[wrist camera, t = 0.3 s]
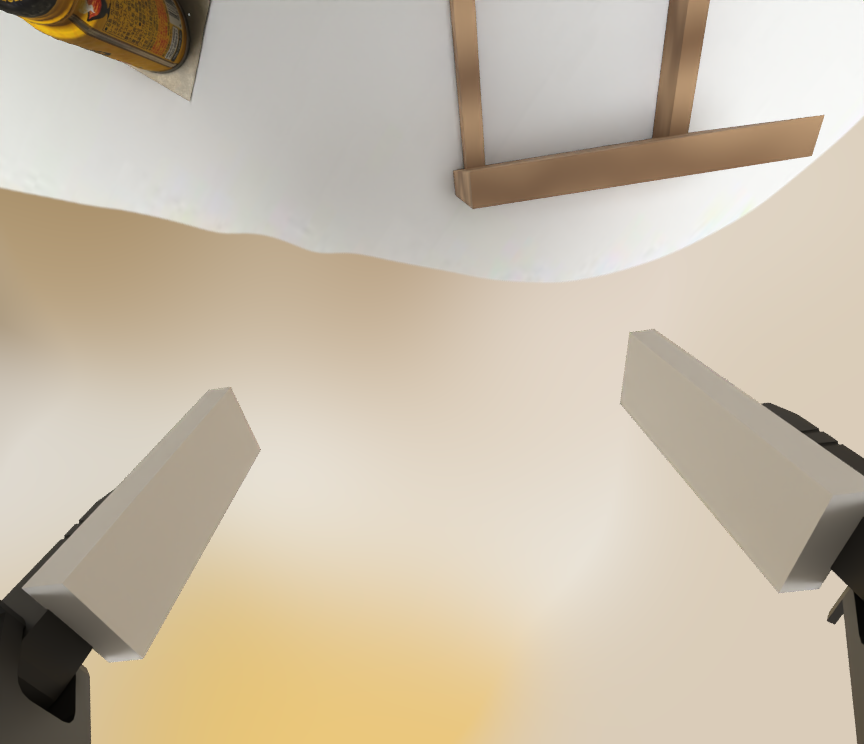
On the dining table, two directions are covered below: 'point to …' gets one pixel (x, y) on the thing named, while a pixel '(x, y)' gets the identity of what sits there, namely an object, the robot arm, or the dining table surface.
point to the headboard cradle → (626, 161)
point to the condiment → (127, 32)
